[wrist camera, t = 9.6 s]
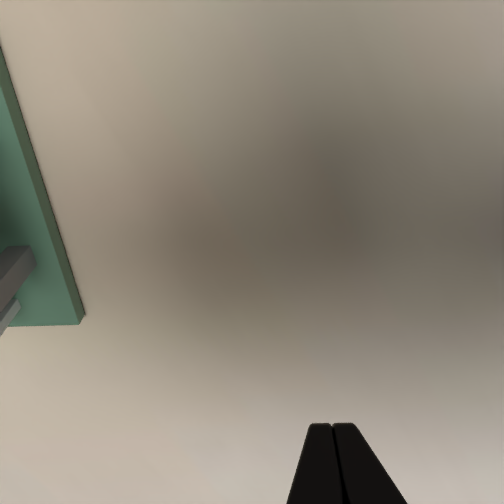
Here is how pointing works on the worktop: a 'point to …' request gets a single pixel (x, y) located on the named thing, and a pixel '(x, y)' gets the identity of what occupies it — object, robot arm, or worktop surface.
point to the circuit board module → (29, 232)
